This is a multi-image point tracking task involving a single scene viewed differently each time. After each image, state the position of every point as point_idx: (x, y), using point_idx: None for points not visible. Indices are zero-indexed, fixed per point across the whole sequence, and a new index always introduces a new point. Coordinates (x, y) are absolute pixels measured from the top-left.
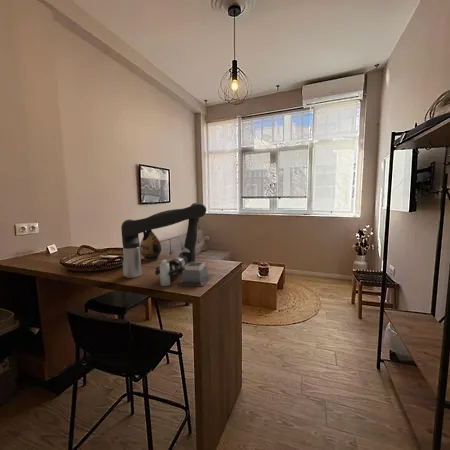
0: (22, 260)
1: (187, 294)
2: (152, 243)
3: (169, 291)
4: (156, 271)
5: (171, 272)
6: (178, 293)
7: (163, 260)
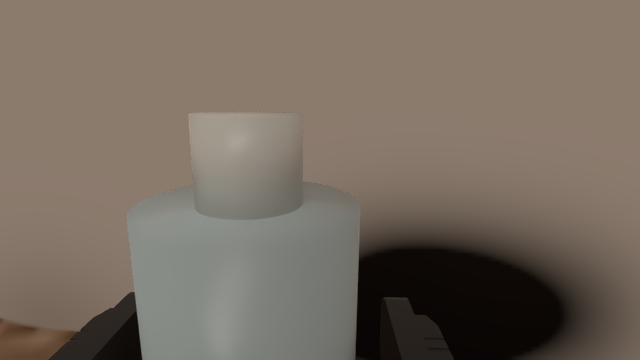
0: None
1: (9, 328)
2: None
3: None
4: (389, 299)
5: (109, 310)
6: None
7: (262, 114)
